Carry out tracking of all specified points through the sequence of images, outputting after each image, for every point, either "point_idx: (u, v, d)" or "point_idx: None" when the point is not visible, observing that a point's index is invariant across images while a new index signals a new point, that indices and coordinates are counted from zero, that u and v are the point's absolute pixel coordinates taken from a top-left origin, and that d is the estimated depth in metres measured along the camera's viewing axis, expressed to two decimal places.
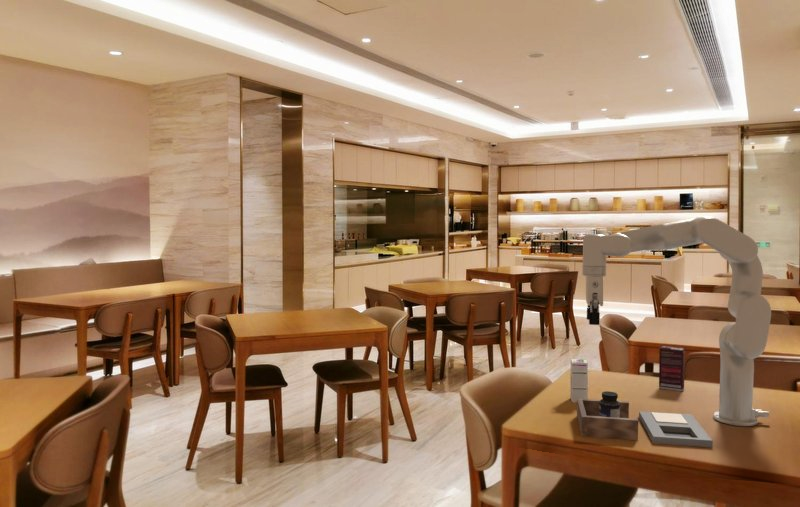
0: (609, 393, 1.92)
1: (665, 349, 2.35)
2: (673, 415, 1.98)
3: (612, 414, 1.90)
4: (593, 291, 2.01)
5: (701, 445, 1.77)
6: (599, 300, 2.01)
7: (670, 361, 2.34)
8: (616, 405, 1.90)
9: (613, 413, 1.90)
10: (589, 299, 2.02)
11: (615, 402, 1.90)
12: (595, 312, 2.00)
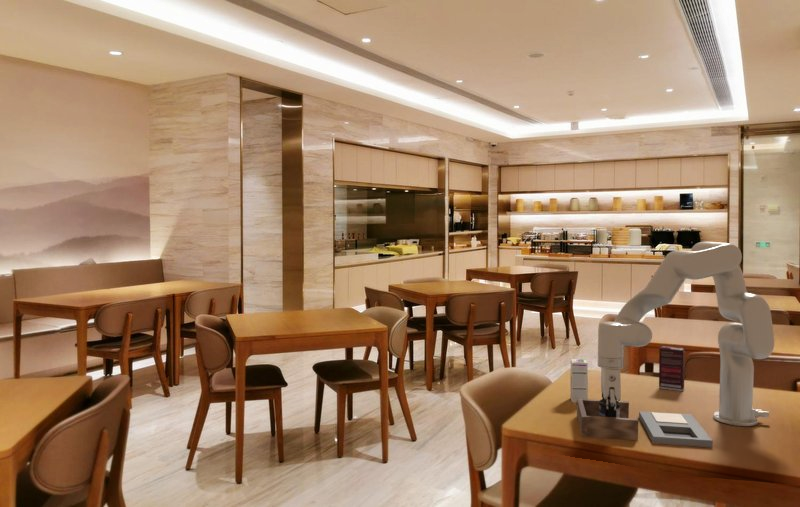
0: None
1: (665, 349, 2.35)
2: (673, 415, 1.98)
3: None
4: (610, 385, 1.87)
5: (701, 445, 1.77)
6: (616, 398, 1.87)
7: (669, 361, 2.34)
8: (616, 405, 1.90)
9: None
10: (606, 394, 1.88)
11: None
12: (611, 410, 1.88)
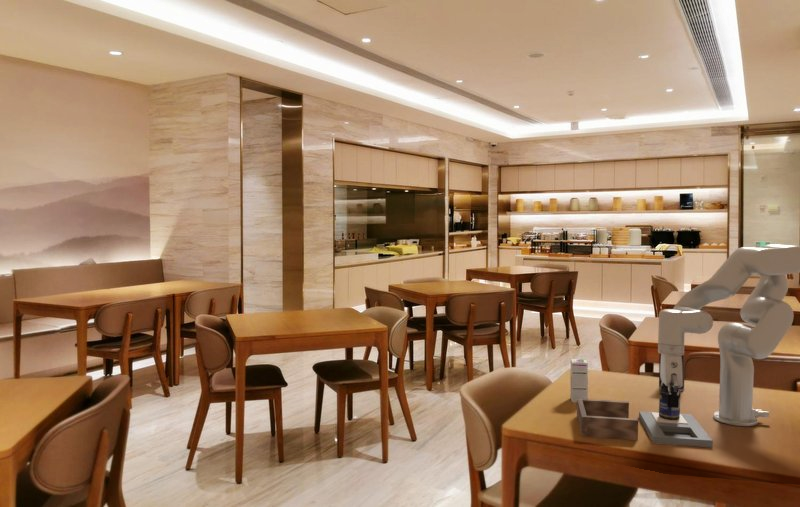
0: None
1: None
2: None
3: None
4: (672, 371, 1.90)
5: (701, 445, 1.77)
6: (678, 382, 1.90)
7: None
8: None
9: None
10: (667, 380, 1.90)
11: None
12: (674, 395, 1.89)
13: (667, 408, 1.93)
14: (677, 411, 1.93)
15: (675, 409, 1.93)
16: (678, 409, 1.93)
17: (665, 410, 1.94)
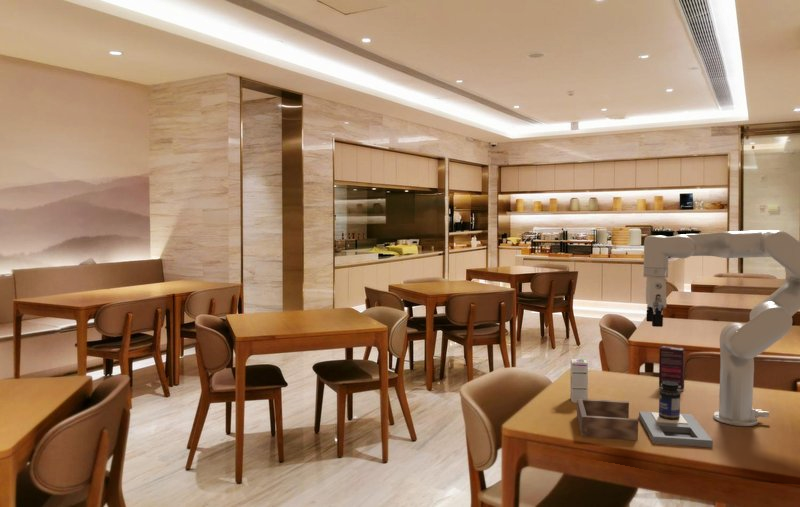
0: (670, 383, 1.95)
1: (665, 349, 2.35)
2: None
3: (673, 403, 1.93)
4: (656, 292, 2.00)
5: (701, 445, 1.77)
6: (662, 302, 2.00)
7: (670, 361, 2.34)
8: (677, 394, 1.93)
9: (674, 402, 1.93)
10: (652, 301, 2.00)
11: (676, 392, 1.93)
12: (659, 314, 1.99)
13: (667, 408, 1.93)
14: (677, 411, 1.93)
15: (675, 409, 1.93)
16: (678, 409, 1.93)
17: (665, 410, 1.94)
